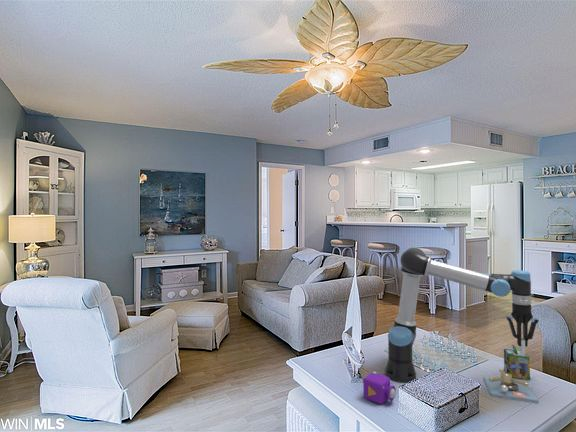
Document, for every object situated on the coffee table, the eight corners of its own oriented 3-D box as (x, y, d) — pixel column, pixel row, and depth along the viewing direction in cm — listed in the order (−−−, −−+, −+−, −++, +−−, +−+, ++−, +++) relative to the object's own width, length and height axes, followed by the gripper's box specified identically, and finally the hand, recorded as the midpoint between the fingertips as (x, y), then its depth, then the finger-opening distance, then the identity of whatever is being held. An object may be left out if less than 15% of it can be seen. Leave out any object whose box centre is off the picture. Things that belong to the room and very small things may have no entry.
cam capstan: (491, 392, 152) (491, 378, 152) (483, 375, 168) (483, 363, 168) (532, 398, 147) (532, 384, 147) (520, 380, 163) (519, 367, 163)
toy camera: (392, 409, 142) (392, 386, 142) (361, 400, 149) (361, 378, 149) (399, 397, 151) (398, 375, 151) (369, 389, 158) (369, 368, 158)
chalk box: (530, 380, 166) (530, 350, 166) (509, 377, 169) (508, 348, 169) (523, 371, 175) (523, 343, 175) (503, 369, 178) (503, 341, 178)
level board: (491, 396, 152) (490, 392, 152) (483, 378, 168) (483, 375, 168) (538, 403, 146) (538, 399, 146) (525, 384, 162) (525, 381, 162)
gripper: (507, 304, 159) (508, 354, 158) (540, 306, 154) (541, 357, 154) (503, 300, 166) (504, 348, 166) (535, 302, 161) (536, 351, 161)
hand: (522, 352), depth 160 cm, fingers closed
